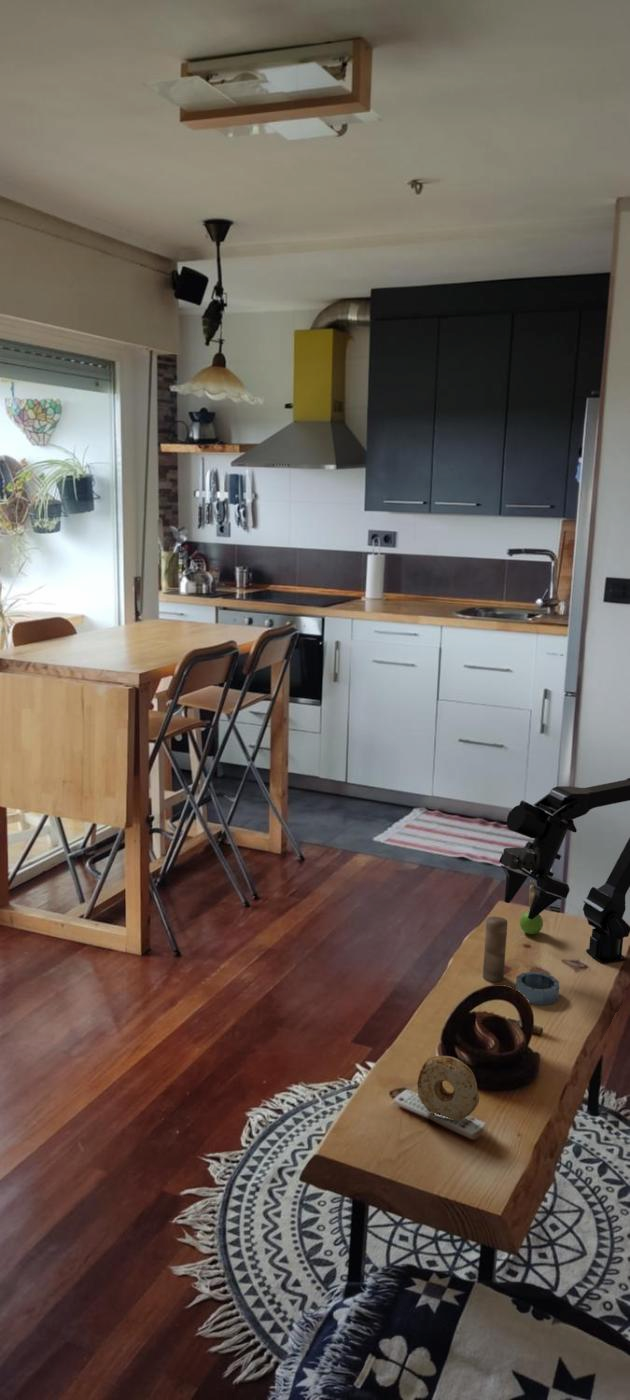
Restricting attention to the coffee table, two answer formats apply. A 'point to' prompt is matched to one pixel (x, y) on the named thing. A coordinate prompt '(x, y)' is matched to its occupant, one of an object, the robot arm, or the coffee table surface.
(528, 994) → the metal collar
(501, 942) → the walnut shaft
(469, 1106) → the stone disc
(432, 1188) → the coffee table surface
